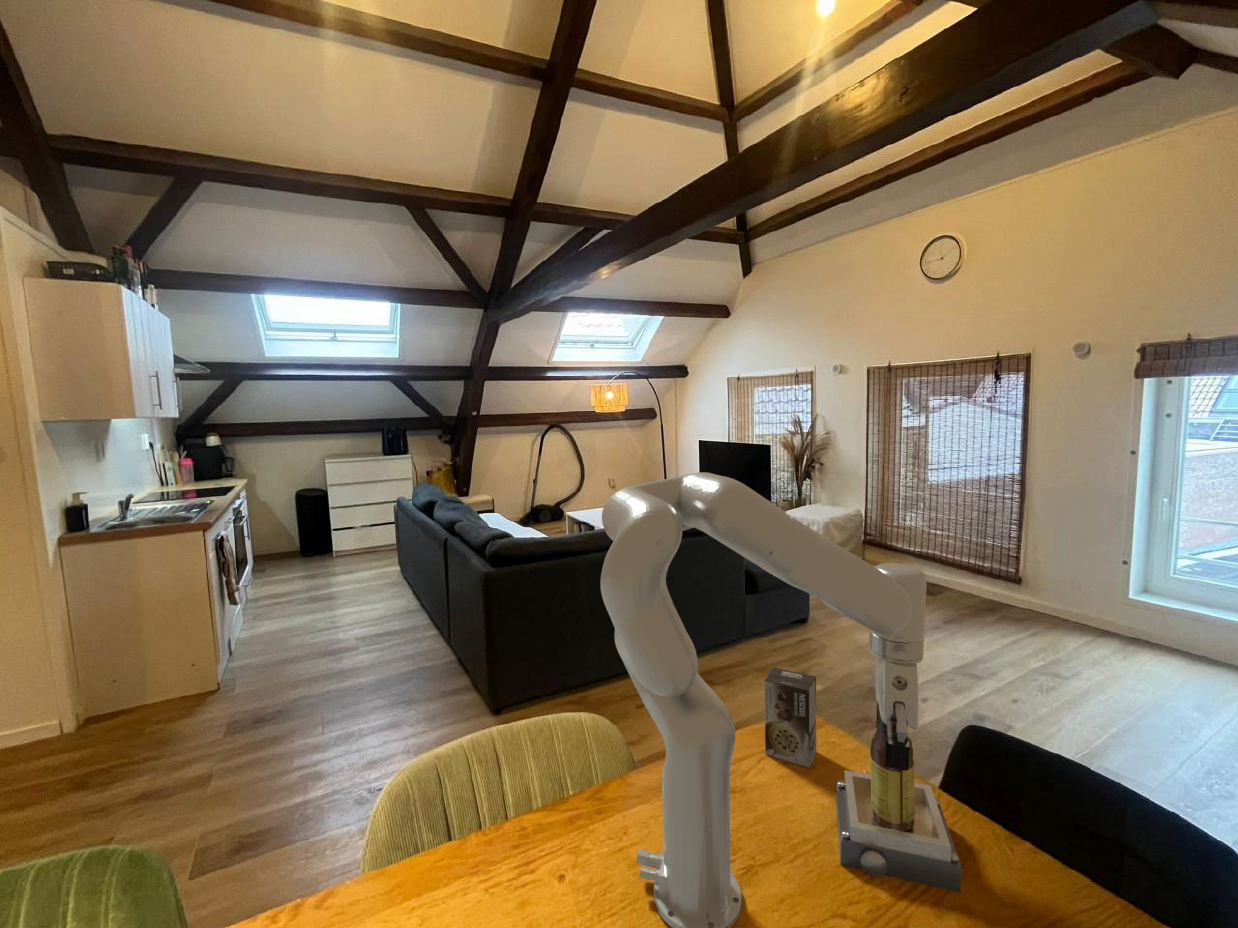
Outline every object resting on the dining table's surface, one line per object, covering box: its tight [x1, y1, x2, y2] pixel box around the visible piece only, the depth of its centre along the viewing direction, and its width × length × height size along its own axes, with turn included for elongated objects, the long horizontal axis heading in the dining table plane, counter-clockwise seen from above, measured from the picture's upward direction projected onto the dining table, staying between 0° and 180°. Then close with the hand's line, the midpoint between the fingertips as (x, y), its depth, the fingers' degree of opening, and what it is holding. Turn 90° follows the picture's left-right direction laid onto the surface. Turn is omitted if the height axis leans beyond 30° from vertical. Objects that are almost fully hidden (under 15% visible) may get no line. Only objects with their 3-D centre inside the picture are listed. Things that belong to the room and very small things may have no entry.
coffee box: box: [763, 667, 817, 769], centre depth 109 cm, size 9×6×16 cm
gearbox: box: [835, 770, 962, 894], centre depth 86 cm, size 16×15×6 cm
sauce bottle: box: [869, 699, 915, 831], centre depth 85 cm, size 6×6×20 cm
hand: (891, 748), depth 85 cm, fingers open, 9 cm apart
